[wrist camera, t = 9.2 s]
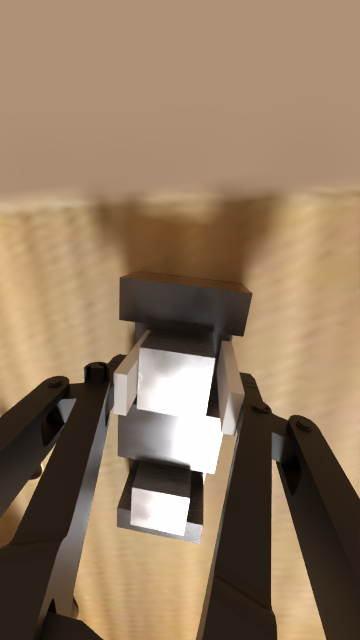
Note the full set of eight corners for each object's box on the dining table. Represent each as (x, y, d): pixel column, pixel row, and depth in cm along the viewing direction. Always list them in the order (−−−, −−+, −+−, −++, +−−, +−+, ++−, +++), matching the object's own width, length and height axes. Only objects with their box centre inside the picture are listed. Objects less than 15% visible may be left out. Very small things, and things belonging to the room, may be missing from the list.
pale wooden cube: (157, 321, 17) (139, 347, 13) (212, 328, 17) (215, 358, 12) (154, 369, 19) (136, 408, 14) (204, 376, 18) (204, 420, 14)
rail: (130, 483, 24) (117, 526, 20) (139, 271, 17) (119, 277, 13) (200, 497, 24) (199, 544, 20) (241, 283, 16) (252, 293, 12)
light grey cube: (146, 467, 22) (130, 524, 18) (148, 434, 21) (132, 487, 16) (188, 475, 22) (183, 535, 17) (193, 442, 21) (189, 498, 16)
